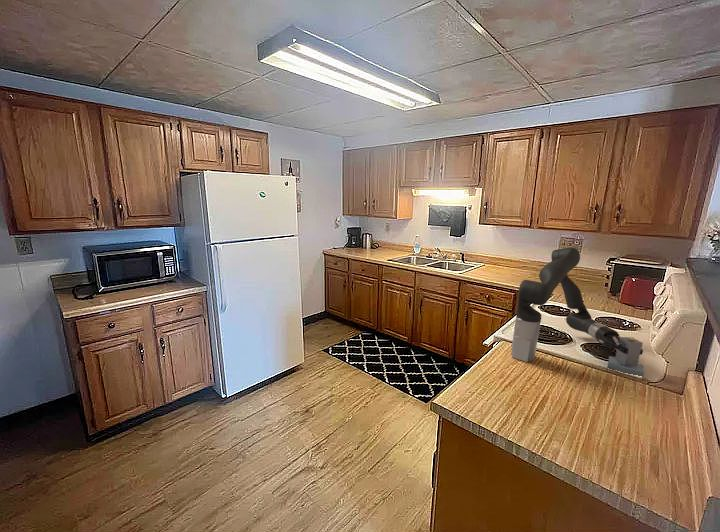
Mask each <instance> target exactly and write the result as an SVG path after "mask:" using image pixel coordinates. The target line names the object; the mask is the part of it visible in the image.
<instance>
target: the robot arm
mask: <svg viewBox="0 0 720 532" xmlns="http://www.w3.org/2000/svg"><path fill="white" fill-rule="evenodd" d="M550 257H551V261H549V262H548V263H546V264H544V266H543V267H542V268H541V270H540V271H539V274H538V275H539V276H538V277H539V278H538V279H539V281H540V282H539V281H534V280H530V279H524V280H522V281H521V283H520V285H519V288H518V292H517V305H516V315H515V323H514V328H513V329H514V330H513V337H512V340H511V341H512V342H511V348H510V349H511V351H510V355H511V358H513V359H516V360H519V361H522V362H525V363H528V362H533V361H534V360H535V359H536V353H537V346H538V341H539V340H538V339H539V335H540V334H539V333H540V328H541V322H542V314H541V312H539V311H538V310H537V309H535V308H534V307H532V306H531V305H530V304H532V305H536V306H544V305H546V303H547V302H548V301H549V300H550V298H551V296H552V295H553V292H554V291H555V289H556V288H557V287H558V285H561V289H562V290H563V296H564V297H565V302H566V307H567V308H568V309H571V310H577V312H573V313H570V314H568V315H567V316H566V318H565V322H566V324H567V325H568V327H570V328H571V329H573V330H575V331H579V332H582V333H586V334H587V335H589V336H591V338H593V339H594V340H596V341H597V342H598V344H600V345H602V346H604V347H605V348H608V349H610V350H616V351H617V350H619V351H621V352H623V353H624V354H628V351H629V350H628V349H627V348H626V347H624V346H622V345H620V344H619V339H620V337H621V336H620V334H619V332H618V331H617V330H615V329H613V328H611V327H609V326H607V325H605V324H604V323H600V322H599V321H597V320H595V319H592V316H591V314H590V312H589V310H588V308H587V307H586V306H585V303H584V300H583V299H584V298H583V295H582V292H581V290H580V287H579V286H578V285H577V283H575V281H573V280H572V279H571V278H570V277H569V276H568V273H569V272H571V270H573V269H574V268H575V267H577V266H578V264H580V260H581V253H580V251H579V250H578V249H577V248H575V247H572V246H571V247H564V248H559V249H558V248H557V249H555V250H553V251H552V253H551V256H550ZM643 353H644V349H642V348H641V352H640V356H641V355H643Z"/></svg>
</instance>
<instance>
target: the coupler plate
mask: <svg viewBox="0 0 720 532" xmlns="http://www.w3.org/2000/svg"><path fill="white" fill-rule="evenodd" d="M615 357H616V356H611V355H609V356H608V360H609V361H608V362H607V366H606V367H607V368H609V369H612V370H617V371H620V372H623V373H628V374H633V375H638V376H642V377H643V378H644V377H645V371H644V364H640V363H638V364H637V366H624V365H622V364H621V363H619V362H618V361H616V360H615ZM607 368H606V369H607Z"/></svg>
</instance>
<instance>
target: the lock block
mask: <svg viewBox="0 0 720 532" xmlns="http://www.w3.org/2000/svg"><path fill="white" fill-rule="evenodd" d="M619 344H620V345H622V346H624V347H626V348H627V349H628V350H629V351H628V354H624V353H623V352H621V351H619V350H616V353H615V356H614V357H615V360H616V361H618V362H619V363H621V364H622V365H624V366H637V364H639V360H640V356H641V355H640V352H641V349H642V348H643V342H641V341H640V340H638V339H636V338H635V337H631V336H628V337H627V336H620V339H619Z"/></svg>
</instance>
